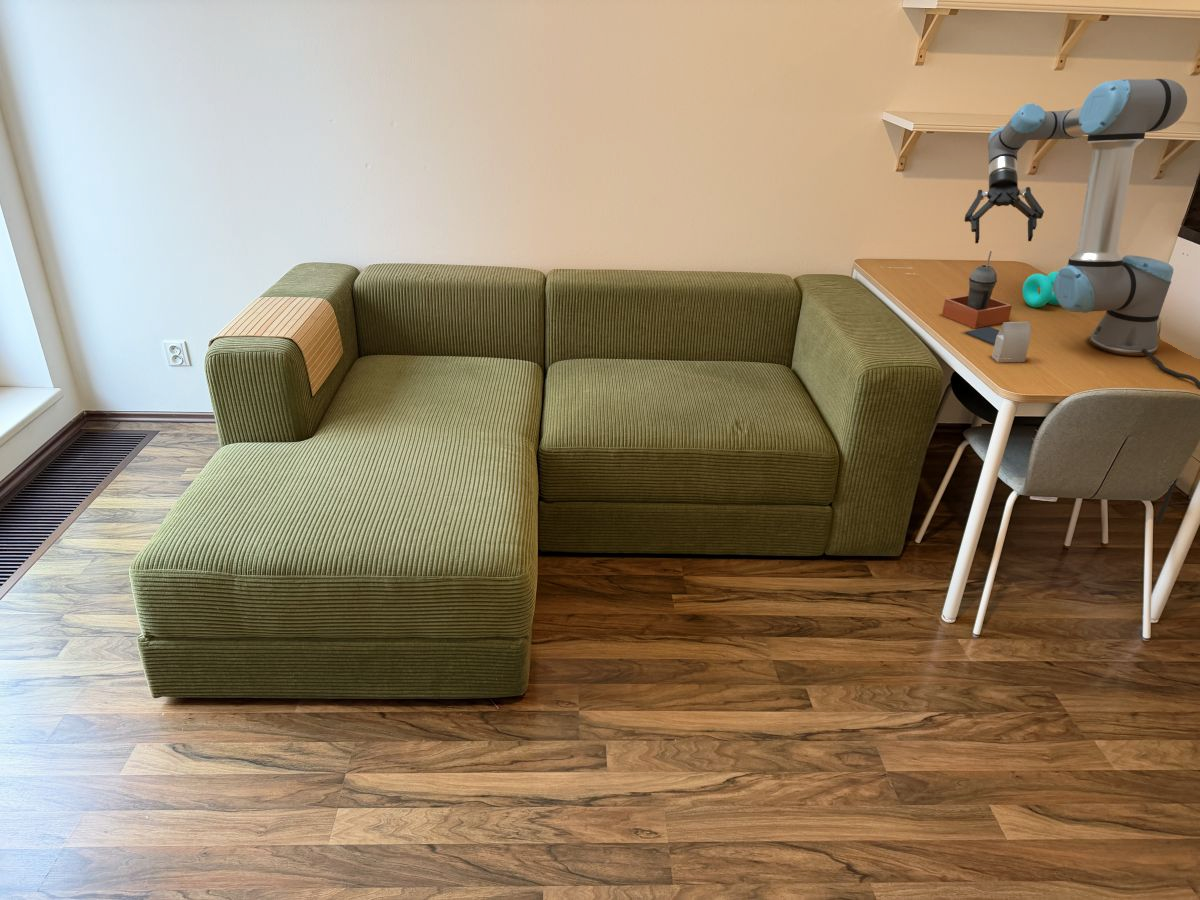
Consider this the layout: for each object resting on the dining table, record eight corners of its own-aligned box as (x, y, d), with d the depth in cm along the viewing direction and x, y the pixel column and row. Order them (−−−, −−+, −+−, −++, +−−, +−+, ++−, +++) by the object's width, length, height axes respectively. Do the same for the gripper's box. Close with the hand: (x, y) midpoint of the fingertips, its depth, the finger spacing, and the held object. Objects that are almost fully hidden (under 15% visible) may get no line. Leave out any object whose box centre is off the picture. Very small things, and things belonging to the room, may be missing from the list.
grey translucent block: (1024, 361, 204) (1034, 324, 199) (998, 362, 203) (1007, 325, 199) (1017, 356, 207) (1026, 319, 202) (991, 356, 207) (1000, 320, 202)
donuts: (1069, 308, 238) (1077, 275, 234) (1041, 312, 236) (1049, 279, 231) (1043, 298, 247) (1052, 266, 242) (1016, 302, 244) (1024, 270, 240)
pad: (1018, 339, 217) (1019, 338, 217) (993, 345, 214) (994, 343, 214) (989, 328, 225) (990, 326, 225) (965, 333, 222) (965, 331, 222)
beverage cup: (983, 314, 235) (998, 246, 226) (991, 323, 229) (1007, 253, 219) (957, 314, 236) (971, 246, 226) (965, 322, 230) (980, 253, 220)
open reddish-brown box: (1008, 321, 229) (1012, 305, 227) (974, 328, 225) (978, 311, 223) (974, 309, 240) (977, 293, 237) (941, 315, 235) (945, 298, 233)
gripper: (1048, 182, 232) (1050, 245, 225) (955, 187, 240) (954, 248, 234) (1054, 165, 225) (1056, 229, 219) (957, 171, 233) (957, 233, 227)
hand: (1003, 239), depth 226 cm, fingers open, 13 cm apart
